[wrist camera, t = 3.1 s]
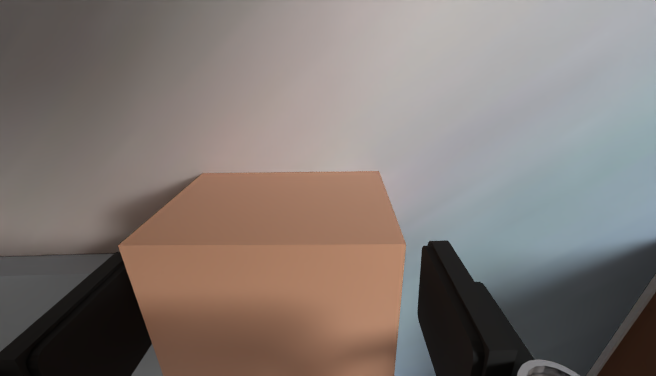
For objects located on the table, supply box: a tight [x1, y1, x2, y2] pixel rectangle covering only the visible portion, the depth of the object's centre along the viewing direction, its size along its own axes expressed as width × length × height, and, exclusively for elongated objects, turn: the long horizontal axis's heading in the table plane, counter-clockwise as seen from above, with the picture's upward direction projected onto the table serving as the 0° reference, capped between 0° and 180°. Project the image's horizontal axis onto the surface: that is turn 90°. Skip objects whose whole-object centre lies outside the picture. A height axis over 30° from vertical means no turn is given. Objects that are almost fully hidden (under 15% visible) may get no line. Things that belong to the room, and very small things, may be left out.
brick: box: [118, 171, 406, 376], centre depth 10 cm, size 6×6×4 cm
